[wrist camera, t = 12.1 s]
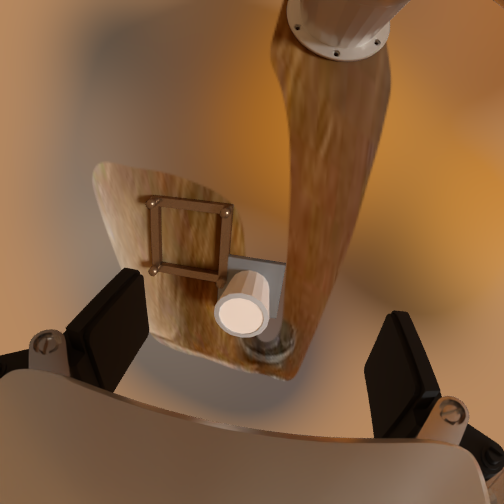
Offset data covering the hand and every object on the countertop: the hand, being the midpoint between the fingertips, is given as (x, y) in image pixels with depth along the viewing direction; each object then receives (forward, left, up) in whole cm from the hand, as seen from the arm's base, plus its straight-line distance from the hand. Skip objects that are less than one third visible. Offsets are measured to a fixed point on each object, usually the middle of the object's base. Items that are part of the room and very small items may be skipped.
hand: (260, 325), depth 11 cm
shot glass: (+16, -3, -28) cm, 32 cm away
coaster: (+16, -3, -28) cm, 33 cm away
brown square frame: (+10, -12, -28) cm, 32 cm away
